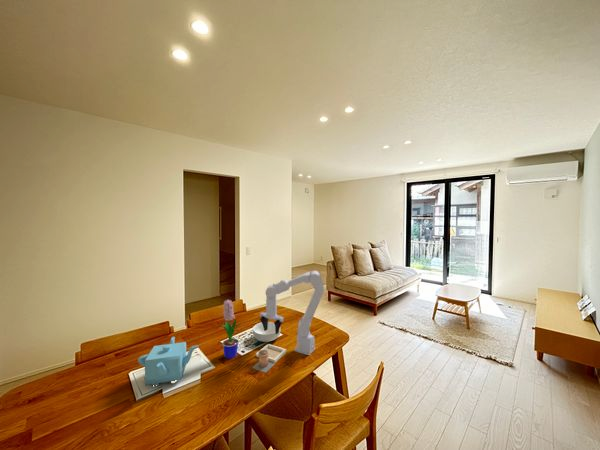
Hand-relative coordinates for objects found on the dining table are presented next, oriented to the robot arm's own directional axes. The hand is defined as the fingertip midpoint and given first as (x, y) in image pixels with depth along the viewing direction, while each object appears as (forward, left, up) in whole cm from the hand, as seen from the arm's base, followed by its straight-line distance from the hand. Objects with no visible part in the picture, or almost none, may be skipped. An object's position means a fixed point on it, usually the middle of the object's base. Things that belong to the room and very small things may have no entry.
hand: (271, 331), depth 130 cm
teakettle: (+28, +41, -10) cm, 51 cm away
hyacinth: (+15, +15, -10) cm, 23 cm away
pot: (-5, +14, -9) cm, 17 cm away
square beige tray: (-3, +5, -10) cm, 11 cm away
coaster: (-6, +15, -10) cm, 18 cm away
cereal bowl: (+9, -8, -10) cm, 16 cm away
